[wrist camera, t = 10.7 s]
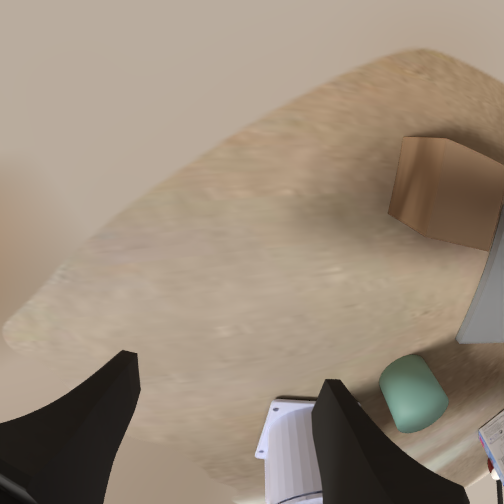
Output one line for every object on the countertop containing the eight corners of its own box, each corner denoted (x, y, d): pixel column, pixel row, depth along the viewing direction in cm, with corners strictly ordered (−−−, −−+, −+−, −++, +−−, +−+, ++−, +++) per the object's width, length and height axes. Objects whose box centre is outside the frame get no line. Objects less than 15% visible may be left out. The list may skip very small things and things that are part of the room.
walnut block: (445, 227, 18) (488, 251, 14) (387, 212, 18) (425, 236, 13) (461, 158, 17) (508, 167, 12) (402, 136, 16) (446, 138, 12)
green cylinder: (412, 391, 23) (431, 429, 19) (371, 393, 23) (387, 435, 19) (432, 354, 22) (457, 391, 17) (390, 354, 22) (413, 396, 17)
